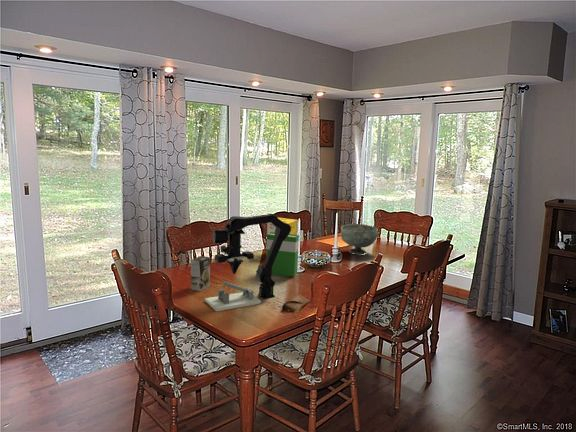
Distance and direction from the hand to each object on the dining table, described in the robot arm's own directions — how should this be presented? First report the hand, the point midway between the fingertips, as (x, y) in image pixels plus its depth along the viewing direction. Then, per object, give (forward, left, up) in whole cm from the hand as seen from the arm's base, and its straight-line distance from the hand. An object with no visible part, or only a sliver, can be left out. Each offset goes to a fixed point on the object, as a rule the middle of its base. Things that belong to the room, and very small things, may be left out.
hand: (234, 273), depth 208 cm
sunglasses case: (-24, +21, -14) cm, 35 cm away
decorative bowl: (-119, -45, -13) cm, 128 cm away
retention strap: (0, +4, -6) cm, 7 cm away
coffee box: (+9, -22, -13) cm, 27 cm away
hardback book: (-43, -26, -13) cm, 52 cm away
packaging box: (-64, -61, -13) cm, 89 cm away
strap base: (+2, +4, -13) cm, 14 cm away
